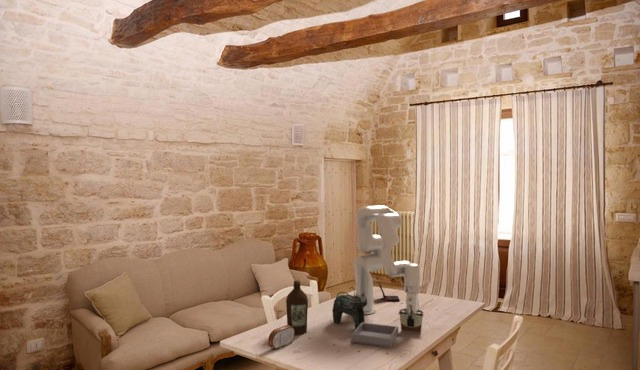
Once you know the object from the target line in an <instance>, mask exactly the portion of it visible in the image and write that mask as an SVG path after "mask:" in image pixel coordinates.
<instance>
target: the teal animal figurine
mask: <svg viewBox="0 0 640 370" xmlns="http://www.w3.org/2000/svg"><path fill="white" fill-rule="evenodd" d="M351 289H353V292H354V293H353V295H352V294H349V293H347V292H345V291H341V292H338V293H337V294H336V298H335V299H334V301H333V304H332V305H333V306H332V320H333V321H332V322H333V323H334V324H336V325H338V324H341V323H342V317H343V314H345V315H348V316H351V317H352V319H353V322H354V329H356V328H357V327H358V326H359V325H360V324H361V323H362V322H363V323H365V314H364V311H363V307H365V306H366V305H367V298H366V297H365V294H364V293H363V294H362V295H358V293H356V288H354V287H353V286H351V287H350V288H349V290H351ZM342 293H343V294H342ZM340 294H341V295H340Z"/></svg>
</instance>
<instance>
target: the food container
mask: <svg viewBox="0 0 640 370" xmlns="http://www.w3.org/2000/svg"><path fill="white" fill-rule="evenodd" d="M397 315H398V316H399V320H400V321H399V322H400V331H401V332H404V333H405V332H406V333H407V332H409V333H416V334H422V325H423V318H424V317H425V315H424V312H423V310H421V309H419V310H418V312H417V314H415V313H414V317H413V318H414V327H408V326H407V315H408V313H407V311H406V307H405V308H402V309H399V311H398V314H397Z"/></svg>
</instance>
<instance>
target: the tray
mask: <svg viewBox="0 0 640 370" xmlns="http://www.w3.org/2000/svg"><path fill="white" fill-rule="evenodd" d="M354 329H355V328H354ZM398 336H399V326H397V325H389V324H379V323H373V322H372V323H371V322H364V323H363V322H362V323H361V324H360V325H359V326H358V327H357V328H356V329H355V330H354V331H353V332H352V333H351V335H350V342H351V344H355V345H356V344H357V345H362V346H371V347H377V348H378V347H379V348H386V349H391V348H392V346H393V345H394V343H395V342H396V339H397V338H398Z"/></svg>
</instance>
